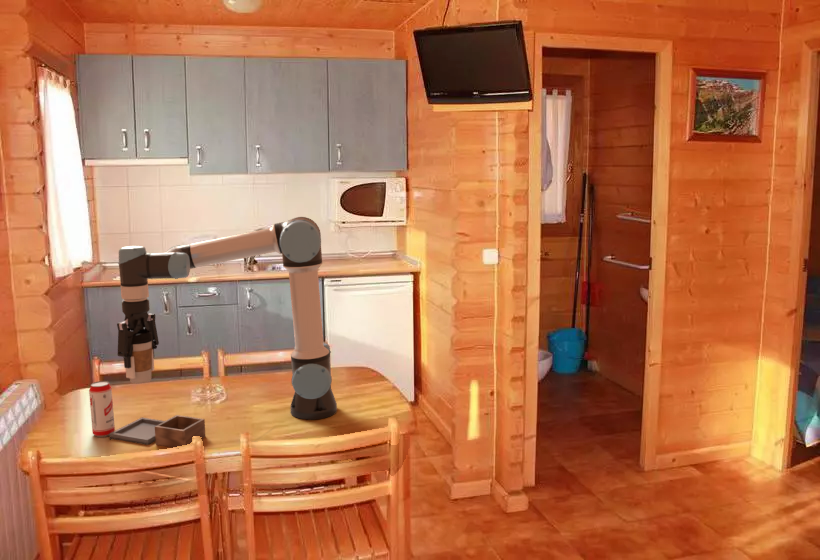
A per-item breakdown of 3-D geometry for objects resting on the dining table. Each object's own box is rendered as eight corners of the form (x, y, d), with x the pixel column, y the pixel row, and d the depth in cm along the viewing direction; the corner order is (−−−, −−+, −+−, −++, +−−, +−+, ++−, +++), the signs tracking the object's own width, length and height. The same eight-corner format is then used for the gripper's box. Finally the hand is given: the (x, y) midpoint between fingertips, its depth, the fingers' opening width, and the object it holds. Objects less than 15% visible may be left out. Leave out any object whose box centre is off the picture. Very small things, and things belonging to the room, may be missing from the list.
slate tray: (178, 429, 225) (178, 423, 224) (147, 446, 212) (147, 439, 211) (142, 423, 230) (141, 417, 229) (109, 439, 217) (109, 433, 216)
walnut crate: (205, 438, 218) (204, 419, 217) (184, 450, 209) (183, 431, 207) (178, 433, 221) (176, 414, 220) (155, 446, 212) (154, 426, 211)
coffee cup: (146, 386, 213) (142, 336, 210) (119, 384, 214) (116, 334, 212) (161, 377, 221) (157, 329, 218) (136, 375, 222) (132, 327, 220)
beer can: (118, 429, 224) (114, 380, 221) (110, 437, 218) (106, 386, 215) (97, 430, 224) (93, 380, 221) (89, 438, 218) (85, 387, 215)
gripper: (148, 291, 224) (153, 363, 228) (99, 305, 205) (105, 382, 209) (168, 293, 221) (173, 365, 225) (120, 307, 202) (126, 385, 207)
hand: (140, 373), depth 217 cm, fingers closed on coffee cup, 7 cm apart
